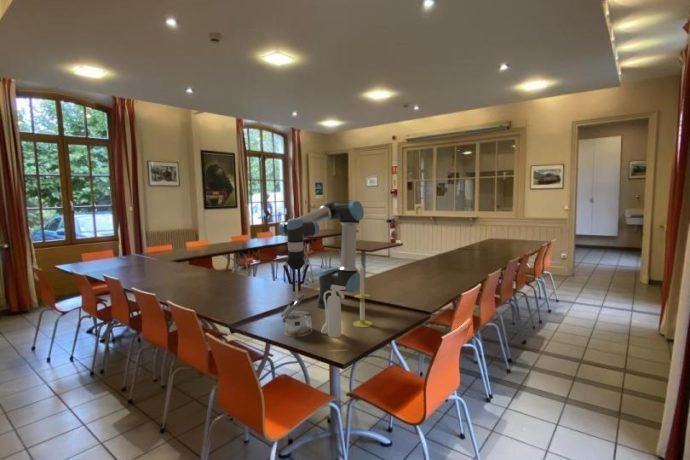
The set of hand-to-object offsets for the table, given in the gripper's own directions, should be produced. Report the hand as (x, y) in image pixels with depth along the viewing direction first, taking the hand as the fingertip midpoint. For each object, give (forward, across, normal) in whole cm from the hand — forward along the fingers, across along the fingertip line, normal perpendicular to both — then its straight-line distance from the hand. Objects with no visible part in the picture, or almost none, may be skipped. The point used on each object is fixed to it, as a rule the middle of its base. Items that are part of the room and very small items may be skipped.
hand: (297, 297), depth 177 cm
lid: (+4, +2, 0) cm, 4 cm away
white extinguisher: (+18, -17, +7) cm, 26 cm away
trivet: (+17, 0, 0) cm, 17 cm away
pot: (+17, 0, 0) cm, 17 cm away
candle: (+17, -33, -7) cm, 38 cm away
